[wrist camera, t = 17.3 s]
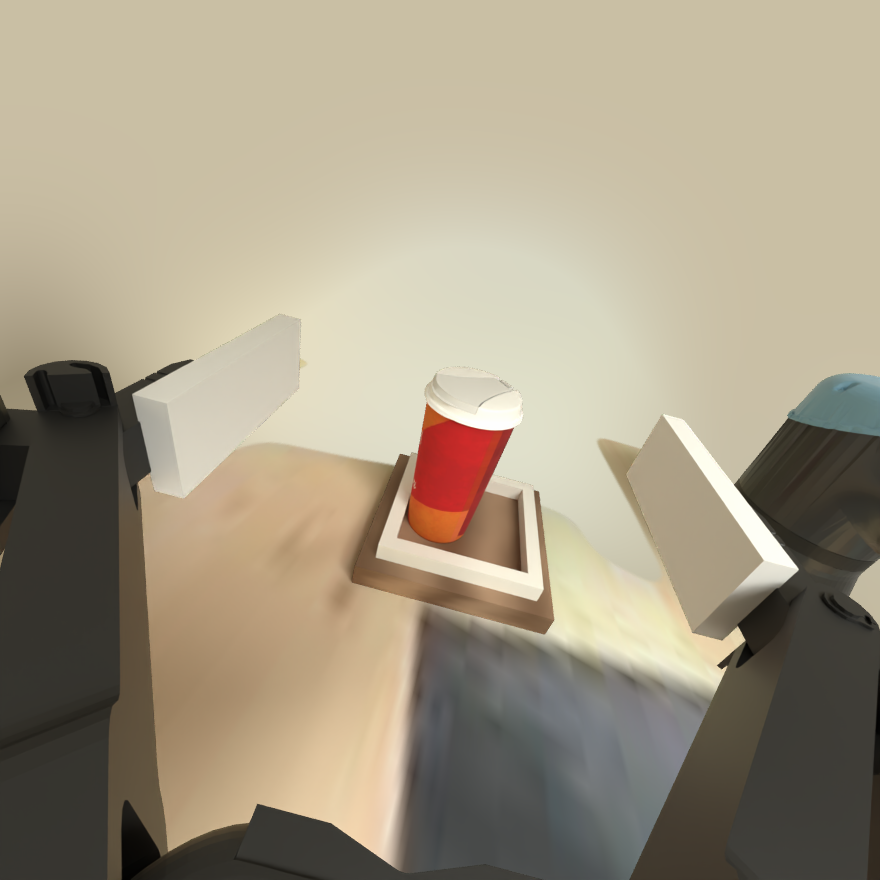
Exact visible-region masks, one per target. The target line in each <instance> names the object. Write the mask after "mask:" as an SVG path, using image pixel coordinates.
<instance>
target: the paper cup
mask: <svg viewBox="0 0 880 880" xmlns="http://www.w3.org/2000/svg"><path fill="white" fill-rule="evenodd" d="M425 397H426V399H427V404H426V410H425V416H424V421H423V427H422V433H421V438H420V444H419V450H418V455H417V461H416V467H415V472H414V478H413V484H412V490H411V496H410V502H409V509H408V521H409V524H410V526H411V528H412V529H413V530H414V532H415V533H417V534H418V535H419V536H420V537H422V538H424V539H426V540H428V541H431V542H435V543H451V542H454V541H456V540H458V539H460V538H461V537H462V536H463V534H464V533H465V531H466V529H467V527H468V525H469V523H470V521H471V519H472V517H473V515H474V513H475V511H476V509H477V507H478V504H479V502H480V500H481V498H482V496H483V494H484V492H485V490H486V487H487V485H488V483H489V481H490V479H491V477H492V474H493V472H494V470H495V468H496V466H497V464H498V461H499V459H500V457H501V455H502V453H503V451H504V448H505V446H506V444H507V442H508V440H509V438H510V435H511V433H512V431H513V429H514V427H516V426H518V425H519V424H520V423H521V421H522V419H523V411H522V402H523V401H522V396H521V394H520V392H519V391H518V390H516V391H514V390H513V387H512V386H511V385H509V384H508V383H506V382H505V381H503V380H501V381H500V378H499V377H498V376H496V375H494V374H491V373H488V372H485V371H482V370H478V369H473V368H467V367H448V368H444V369H441V370H440V371H438V372H437V373H436V374H435V376H434V378H433V380H432V381H431V382H430V383H429V384H428V385H427V386H426V388H425Z"/></svg>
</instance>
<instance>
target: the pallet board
mask: <svg viewBox="0 0 880 880" xmlns="http://www.w3.org/2000/svg"><path fill="white" fill-rule="evenodd" d="M417 455H418V454H416V453H411V456H407V455H403V454H400V455H399V458H398V460H397V462H396V465H395V467H394V470H393V472H392V475H391V477H390V480H389V482H388V485H387V487H386V490H385V492H384V495H383V497H382V500H381V502H380V505H379V507H378V510H377V512H376V514H375V517H374V519H373V522H372V524H371V527H370V529H369V532H368V534H367V537H366V539H365V542H364V544H363V547H362V549H361V552H360V554H359V557H358V559H357V561H356V564H355V567H354V573H353V578H352V582H353V583H357V584H360V585H364V586H368V587H371V588H375V589H379V590H383V591H386V592H390V593H394V594H397V595H401V596H405V597H408V598H412V599H416V600H419V601H423V602H427V603H430V604H434V605H438V606H442V607H445V608H449V609H453V610H456V611H460V612H464V613H467V614H471V615H475V616H478V617H482V618H486V619H489V620H493V621H497V622H501V623H504V624H508V625H512V626H515V627H519V628H523V629H526V630H530V631H534V632H537V633H541V634H545V633H546V632H547V630H548V629H549V627H550V626H551V624H552V623H553V621H554V614H553V605H552V597H551V589H550V580H549V572H548V564H547V555H546V547H545V538H544V530H543V522H542V513H541V505H540V497H539V492H538V491H534V489H533V485H529V484H526V483H522V482H518V481H515V480H511V479H507V478H504V477H500V476H496V475H493V474H492V477H491V479H490V481H489V483H488V485H487V487H486V490H485V492H484V494H483V496H482V498H481V500H480V502H479V504H478V507H477V509H476V511H475V513H474V515H473V517H472V519H471V521H470V523H469V525H468V527H467V529H466V531H465V533H464V534H463V536H462V537H461V538H460V539H458V540H456V541H454V542H451V543H435V542H431V541H428V540H426V539H424V538H422V537H420V536H419V535H418V534H417V533H415V532H414V530H413V529H412V528H411V526H410V524H409V521H408V509H409V502H410V496H411V490H412V484H413V478H414V472H415V467H416V461H417Z"/></svg>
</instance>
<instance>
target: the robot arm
mask: <svg viewBox="0 0 880 880" xmlns="http://www.w3.org/2000/svg"><path fill="white" fill-rule="evenodd" d="M300 328H301V319H298V318H294V317H290V316H286V315H282V314H278V315H277V316H275V317H273V318H271V319H269V320H268V321H266V322H264V323H262V324H260V325H258V326H256V327H255V328H253V329H251V330H249V331H247V332H245V333H244V334H242V335H240V336H238V337H236V338H235V339H233V340H231V341H229V342H227V343H225V344H223V345H222V346H220V347H218V348H216V349H214V350H213V351H211V352H209V353H207V354H205V355H203V356H201V357H200V358H198V359H196V360H186V361H182V362H178V363H173V364H171V365H169V366H167V367H165V368H163V369H161V370H159V371H157V373H153V374H151V375H149V376H147V377H146V378H145V380H144V379H141V380H140V381H138V382H136V383H134V384H132V385H130V386H128V387H126V388H124V389H122V390H120V391H118V392H116V393H115V392H114V388H113V384H112V381H111V377H110V373H109V371H108V369H107V367H105V366H103V365H101V364H98V363H94V362H89V361H75V360H69V361H58V362H52V363H47V364H43V365H40V366H37V367H35V368H33V369H31V370H29V371H28V372H27V373H26V374H25V376H24V378H25V380H26V383H27V385H28V388H29V391H30V393H31V396H32V398H33V401H34V404H35V406H36V409H37V411H32V410H18V409H6V407H5V405H4V403H3V400H2V398H1V396H0V555H1V554H2V552H3V550H4V549H5V550H4V555H3V559H2V563H1V567H0V880H542V879H539V878H535V877H531V876H527V875H524V874H520V873H516V872H512V871H509V870H505V869H501V868H497V867H493V866H490V865H486V864H483V865H475V866H467V867H459V868H451V869H443V870H435V871H427V872H418V873H403V872H401V871H398V870H397V869H395V868H394V867H392V866H391V865H389V864H388V863H387V862H385V861H384V860H382V859H381V858H380V857H378V856H377V855H375V854H374V853H372V852H371V851H370V850H368V849H367V848H365V847H364V846H362V845H361V844H360V843H358V842H357V841H355V840H354V839H353V838H351V837H350V836H348V835H347V834H345V833H344V832H343V831H341V830H340V829H338V828H337V827H335V826H334V825H333V824H331V823H328V822H324V821H320V820H316V819H312V818H309V817H305V816H301V815H297V814H294V813H290V812H286V811H282V810H279V809H275V808H271V807H267V806H263V805H260V804H257V806H256V809H255V811H254V813H253V816H252V818H251V821H250V823H246V824H236V825H232V826H228V827H224V828H220V829H217V830H213V831H211V832H208V833H206V834H203V835H201V836H199V837H196V838H194V839H191V840H190V841H188V842H186V843H184V844H182V845H180V846H179V847H177V848H175V849H173V850H171V851H169V852H168V849H167V836H166V825H165V817H164V809H163V804H162V798H161V793H160V788H159V781H158V772H157V758H156V741H155V725H154V709H153V692H152V676H151V660H150V643H149V627H148V611H147V595H146V578H145V562H144V546H143V529H142V513H141V497H140V490H139V486H138V482H139V481H140V480H141V479H143V478H144V477H145V476H146V475H148V474H149V473H150V475H151V479H152V483H153V488H154V491H157V492H161V493H164V494H168V495H172V496H176V497H179V498H183V499H184V498H185V497H186V496H187V495H188V494H189V493H190V492H191V491H192V490H193V489H194V488H195V487H197V486H198V485H199V484H200V483H201V482H202V481H203V480H204V479H205V478H206V477H207V476H208V475H209V474H210V473H211V472H212V471H213V470H214V469H215V468H216V467H217V466H218V465H220V464H221V463H222V462H223V461H224V460H225V459H226V458H227V457H228V456H229V455H230V454H231V453H232V452H233V451H234V450H235V449H236V448H237V447H238V446H239V445H240V444H241V443H242V442H244V440H246V439H247V438H248V437H249V436H250V435H251V434H252V433H253V432H254V431H255V430H256V429H257V428H258V427H259V426H260V425H261V424H262V423H263V422H265V421H266V420H267V419H268V417H270V416H271V415H272V414H273V413H274V412H275V411H276V410H277V409H278V408H279V407H280V406H281V405H282V404H283V403H284V402H285V401H286V400H288V398H290V397H291V396H292V395H293V394H294V393H295V392H296V391H297V390H298V389H299V370H300V332H301V329H300ZM787 416H788V419H787V420H786V422H785V423H784V424H783V425H782V427H781V428H780V429H779V430H778V431H777V433H776V434H775V435H774V436H773V438H772V439H771V440H770V442H769V443H768V444H767V445H766V447H765V448H764V449H763V450H762V451H761V453H760V454H759V455H758V456H757V457H756V459H755V460H754V461H753V462H752V463H751V465H750V466H749V467H748V468H747V469H746V471H745V472H744V473H743V474H742V476H741V477H740V478H739V479H738V481H737V482H736V483H735V484H734V485H733V483H732V482H731V481H730V479H729V478H728V477H727V475H726V474H725V473H724V472H723V470H722V469H721V468H720V466H719V465H718V464H717V463H716V461H715V460H714V459H713V457H712V456H711V455H710V453H709V452H708V451H707V449H706V448H705V447H704V446H703V445H702V443H701V442H700V440H699V439H698V438H697V437H696V435H695V434H694V433H693V431H692V430H691V429H690V427H689V426H688V425H687V424H686V422H685V421H684V420H683V419H679V418H676V417H672V416H668V415H664V414H662V415H661V417H660V419H659V420H658V422H657V424H656V426H655V427H654V429H653V430H652V432H651V434H650V435H649V437H648V439H647V440H646V442H645V444H644V445H643V447H642V449H641V450H640V452H639V454H638V455H637V457H636V459H635V460H634V462H633V464H632V465H631V467H630V469H629V470H628V472H627V473H626V476H627V478H628V480H629V483H630V485H631V487H632V490H633V492H634V495H635V497H636V499H637V502H638V504H639V506H640V509H641V511H642V514H643V516H644V518H645V521H646V523H647V526H648V528H649V530H650V533H651V535H652V537H653V540H654V542H655V545H656V547H657V549H658V552H659V554H660V557H661V559H662V561H663V564H664V566H665V568H666V571H667V573H668V576H669V578H670V580H671V583H672V585H673V588H674V590H675V592H676V595H677V597H678V599H679V602H680V604H681V607H682V609H683V611H684V614H685V616H686V619H687V621H688V623H689V626H690V628H691V630H692V633H696V634H700V635H703V636H707V637H711V638H715V639H719V640H723V639H724V638H725V637H726V636H728V635H729V634H730V633H731V632H732V631H733V630H734V629H735V628H736V627H737V626H738V627H739V629H740V631H741V632H742V634H743V636H744V638H745V640H746V641H745V642H743V643H742V644H741V645H740V646H739V647H738V648H737V649H735V650H734V651H733V652H732V653H731V654H730V655H729V656H727V657H726V658H725V659H724V660H723V661H722V662H721V663H719V664H718V665H717V666H718V667H719V668H721V669H723V668H724V667H725V666H728V667H727V669H726V671H725V673H724V676H723V678H722V680H721V682H720V684H719V686H718V689H717V691H716V693H715V695H714V697H713V700H712V702H711V704H710V706H709V708H708V710H707V713H706V715H705V717H704V719H703V721H702V723H701V726H700V728H699V730H698V732H697V734H696V736H695V739H694V741H693V743H692V745H691V747H690V749H689V752H688V754H687V756H686V758H685V760H684V762H683V765H682V767H681V769H680V771H679V773H678V775H677V778H676V780H675V782H674V784H673V786H672V789H671V791H670V793H669V795H668V797H667V799H666V802H665V804H664V806H663V808H662V810H661V812H660V815H659V817H658V819H657V821H656V823H655V825H654V828H653V830H652V832H651V834H650V836H649V838H648V841H647V843H646V845H645V847H644V849H643V851H642V854H641V856H640V858H639V860H638V862H637V865H636V867H635V869H634V871H633V873H632V875H631V878H630V880H880V629H879V626H878V624H877V623H876V621H875V620H874V619H873V617H872V616H871V615H870V614H869V613H868V612H867V611H866V610H865V609H864V608H862V606H861V605H859V604H858V603H857V602H855V601H854V600H852V599H851V598H850V597H849V595H850V593H851V591H852V589H853V587H854V585H855V583H856V581H857V579H858V577H859V576H860V575H861V574H862V573H863V572H864V571H865V570H866V569H867V568H869V567H870V566H871V565H872V564H873V563H875V561H877V560H878V559H880V377H877V376H871V375H863V374H851V373H849V374H838V375H834V376H831V377H828V378H826V379H824V380H823V381H821V382H820V383H819V384H818V385H817V386H816V387H815V388H814V389H813V390H812V391H811V392H810V393H809V394H808V396H807V397H806V398H805V399H804V400H803V401H802V402H801V403H800V404H799V405H798V406H797V407H796V409H793V410H791V411H790V412H789V414H788V415H787Z"/></svg>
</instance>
